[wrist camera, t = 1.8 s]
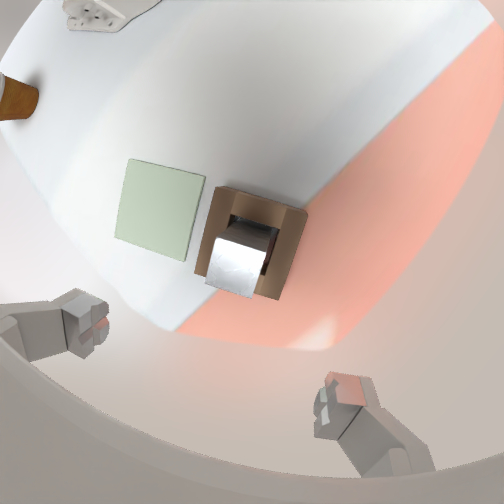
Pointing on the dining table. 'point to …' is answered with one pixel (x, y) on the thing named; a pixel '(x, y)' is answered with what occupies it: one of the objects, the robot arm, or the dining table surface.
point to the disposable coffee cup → (16, 99)
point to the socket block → (262, 211)
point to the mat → (158, 208)
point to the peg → (239, 257)
